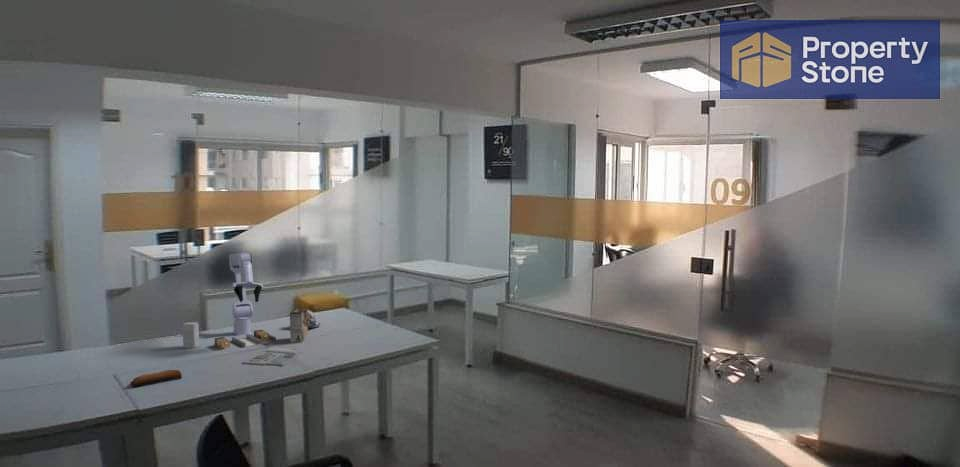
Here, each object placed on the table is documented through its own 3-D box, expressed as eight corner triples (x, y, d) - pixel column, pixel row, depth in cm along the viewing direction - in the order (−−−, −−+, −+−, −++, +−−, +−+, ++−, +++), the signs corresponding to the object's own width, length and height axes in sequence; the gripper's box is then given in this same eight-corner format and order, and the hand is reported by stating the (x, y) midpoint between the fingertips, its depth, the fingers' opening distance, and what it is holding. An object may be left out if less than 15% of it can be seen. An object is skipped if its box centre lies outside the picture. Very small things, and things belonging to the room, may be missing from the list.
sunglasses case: (177, 373, 243) (178, 362, 240) (180, 385, 239) (182, 374, 236) (128, 382, 232) (129, 371, 228) (131, 395, 227) (132, 383, 224)
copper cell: (214, 346, 283) (214, 338, 283) (223, 344, 286) (222, 336, 286) (222, 350, 277) (221, 342, 276) (230, 348, 279) (230, 340, 279)
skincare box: (199, 345, 283) (198, 322, 282) (194, 348, 279) (193, 324, 278) (188, 345, 284) (187, 322, 283) (182, 347, 280) (182, 324, 279)
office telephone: (270, 345, 279) (307, 348, 275) (270, 350, 279) (307, 353, 275) (242, 359, 257) (281, 362, 253) (242, 364, 257) (282, 368, 253)
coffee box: (296, 338, 298) (295, 308, 297) (308, 338, 298) (307, 308, 297) (290, 343, 289) (289, 312, 288) (302, 343, 289) (302, 312, 287)
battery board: (231, 342, 290) (231, 337, 290) (263, 336, 302) (263, 331, 302) (243, 348, 280) (243, 343, 279) (275, 342, 291) (275, 337, 291)
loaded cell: (253, 338, 295) (253, 330, 295) (261, 337, 298) (261, 329, 298) (261, 342, 288) (261, 334, 288) (269, 340, 291) (269, 333, 291)
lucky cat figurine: (325, 325, 325) (323, 307, 317) (310, 338, 316) (307, 319, 308) (305, 315, 330) (303, 297, 322) (290, 327, 321) (287, 309, 313)
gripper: (235, 272, 276) (237, 297, 271) (264, 273, 286) (267, 298, 281) (229, 278, 280) (231, 303, 275) (258, 279, 290) (261, 303, 285)
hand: (249, 301), depth 278 cm, fingers open, 7 cm apart
